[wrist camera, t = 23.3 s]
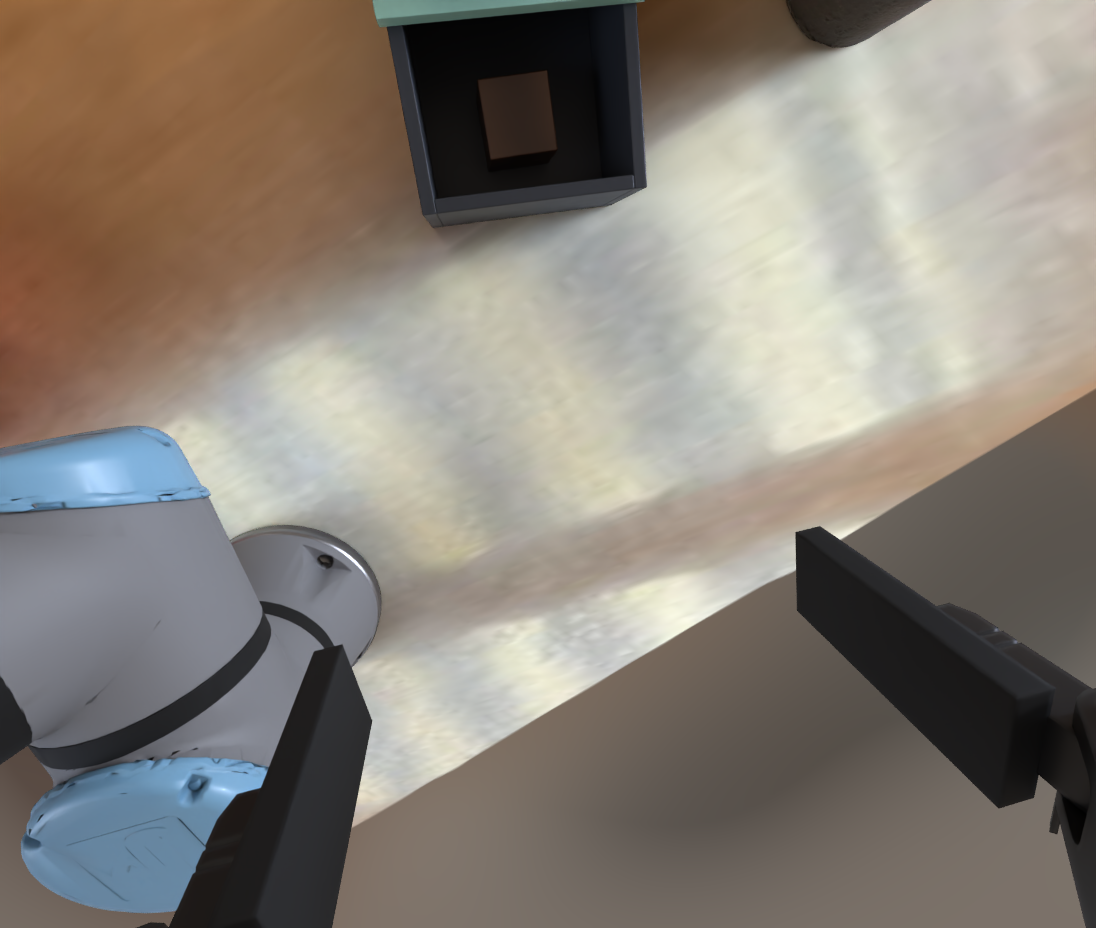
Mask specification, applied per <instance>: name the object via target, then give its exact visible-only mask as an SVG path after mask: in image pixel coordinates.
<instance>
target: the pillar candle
mask: <svg viewBox="0 0 1096 928" xmlns="http://www.w3.org/2000/svg"><path fill="white" fill-rule="evenodd" d="M929 1H931V0H787V3H788V6H789V9H790V11H791V14H792V16H793V18H794V19H795V20H796V22H797V24H799V26H800V28H801V30H802V31H803V32H804V33H805V34H806V35H807V36H808V37H809V38H810V39H812V40H814V41H817V42H819V43H823V44H826V45H827V46H829V47H848V46H852V45H855V44H858V43H860V42H862V41H864V40H866V39H868V38H870V37H872V36H873V35H875V34H876V33H878V32H880V31H881V30H883V29H884V28H886V27H888V26H889V25H891V24H893V23H895V22H896V21H898V20H900V19H901V18H903V17H905V16H906V15H908V14H909V13H911V12H913V11H915V10H916V9H918V8H919V7H921V6H923V5H924V4H926V3H928V2H929Z"/></svg>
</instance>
